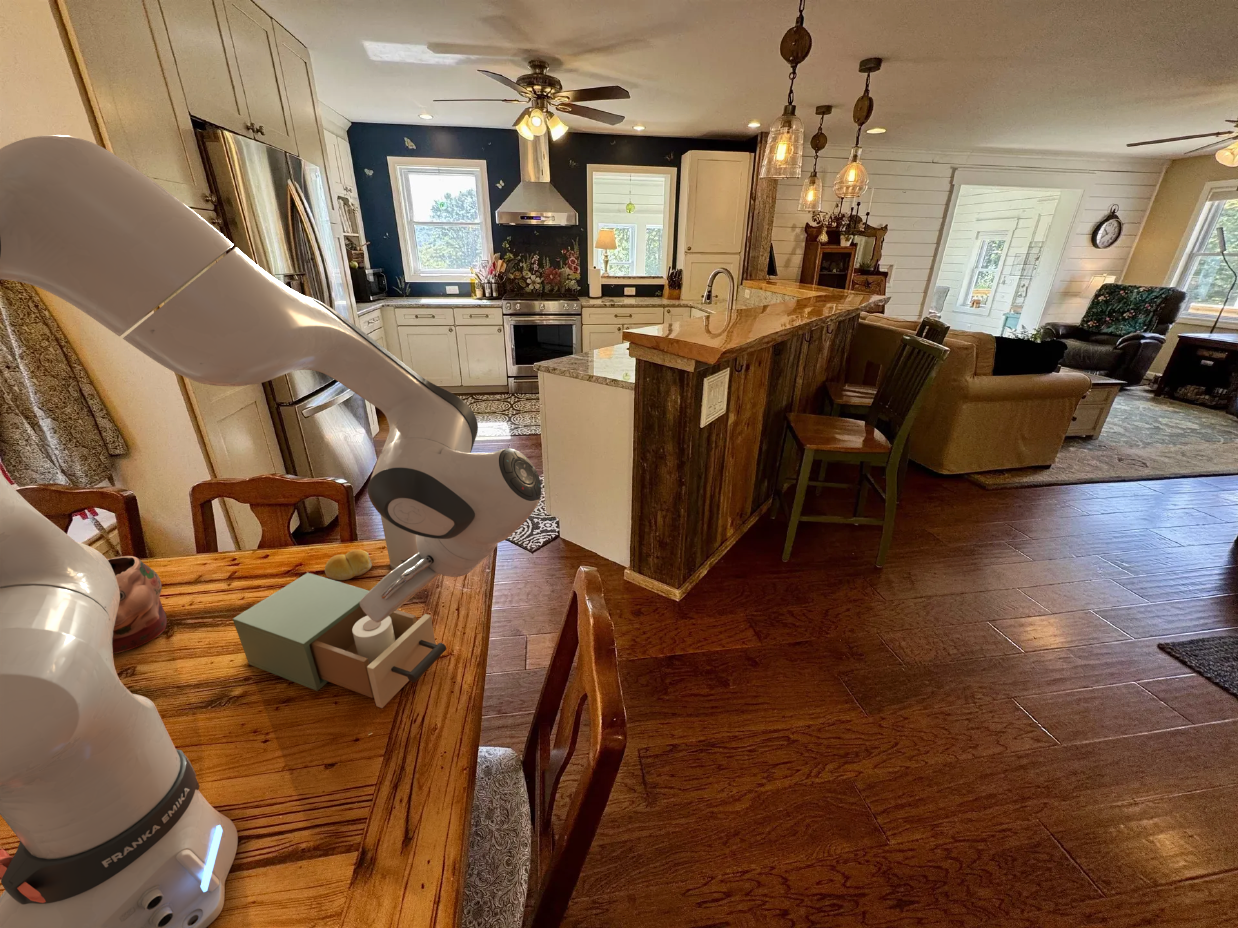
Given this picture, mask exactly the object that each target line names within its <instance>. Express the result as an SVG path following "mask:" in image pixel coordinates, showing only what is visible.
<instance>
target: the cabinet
mask: <svg viewBox="0 0 1238 928" xmlns="http://www.w3.org/2000/svg"><path fill="white" fill-rule="evenodd" d="M369 591H370V590H368V589H365V588H362V587H358V586H356V585H355V586H354V585H351V584H348V583H344V582H342V581H339V580H335V579H331V578H329V577H325V576H321V575H317V574H314V573H311V572H306V573H304V574H303V575H302V576H300V577H298V578H296V579H295V580H294V581H292V582H290V583H288V584H287V585H284V586H283V587H281V589H278V590H277V591H275V592H273V593H272V594H270V595H269V596H267V597H265V598H264V599H262V600H260V601H259V602H257V603H256V604H254V605H253V606H251V607H249V608H248V609H246V610H244V611H243V612H241V613H240V614H238V615H236V616H235V617H233V618H232V622H233V624H234V627H235V630H236V633H237V635H238V638H239V641H240V643H241V647H242V649H243V652H244V654H245V657H246V660H247V664H248V665H250V666H252V667H255V668H257V669H259V670H263V671H265V672H267V673H270V674H272V675H274V676H278V677H280V678H283V679H285V680H287V681H291V682H292V683H295V684H298V685H300V686H303V687H306V688H308V689H310V690H313V691H316V692H318V691H319V690H321V689H322V688H323V687H324V686H325V685H327V684H328V683H330V682H329V681H326V680H323V679H321V678H319V677H318V673H317V670H316V667H315V663H314V660H313V656H312V653H311V650H310V646H309V644H311V643H312V642H313V641H315V640H316V639H317V638H318V637H320V636H321V635H322V634H324V633H325V632H326V631H328V630H329V629H330V628H332V627H333V626H334V625H336V624H337V623H338V622H340V621H341V620H342V619H344V618H345V617H346V616H348V615H349V614H350V613H351V612H353V611H354V610H355V609H357V608H358V607H359V606H360V601H361V599H362V598H363V597H364V596H365V595H366V594H367V593H368V592H369Z"/></svg>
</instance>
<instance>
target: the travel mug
mask: <svg viewBox="0 0 1238 928" xmlns="http://www.w3.org/2000/svg"><path fill="white" fill-rule="evenodd" d="M380 520H381V524H382V530H383V534H384V540H385V545H386V549H387V555H388V558H389V559H388V560H389V565H390V570H391V571H393V570H394V569H395V568H397V567H398V566H400V565H401V564H403V563H404V562H405V561H407V560H408V559H410V558H411V557H413V556H414V555H415V554H417V553H418V549H417V544H416V538H417V535H416V534H413V533H410V532H407V531H405V530H403V529H401V528H399V527H397V526H395V525H393V524H392V523H390V522H389V521H388V520H386V519H385V518H384V517H383V516H381V515H380Z"/></svg>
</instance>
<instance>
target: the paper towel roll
mask: <svg viewBox="0 0 1238 928" xmlns="http://www.w3.org/2000/svg"><path fill="white" fill-rule="evenodd" d="M352 632H353V636H354V640H355V644H356V648H357V652H358V655H359V656H362V657H365V658H368V662H369V664H370V663H372V662H373V661H374V660H375V659H376V658H377V657H378V656H379V655H380V654H382V653H383V652H384V651H385V650H386V649H387V648H388V647H389V646H390V645H391V644H393V643H394V642H395V641H396V640H395V635H394V631H393V626H392V621H391V618H390V616H388V617H387V618H385V619H384V620H382V621H381V622H374V621H373V620H372V619H371V618H369V616H365V617H363V618H361V619H360V620H359V621H357V622H356V623H355V625H354V626H353V629H352Z"/></svg>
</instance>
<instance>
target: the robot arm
mask: <svg viewBox="0 0 1238 928" xmlns="http://www.w3.org/2000/svg"><path fill="white" fill-rule="evenodd" d="M233 246H234V243H232V242H231V241H230V240H229V239H228V238H226V236H224V234H223V233H221V232H220V231H219V230H217V229H216V228H215V227H214V226H213V225H212V224H210V223H209V222H208V221H206V220H205V218H203V217H201V215H199V214H198V213H197V212H195V211H194V210H193V209H192V208H191V207H189V206H188V205H186V204H185V203H184V202H183V201H182V200H180V199H178V198H177V197H176V196H175V195H173V194H172V193H170V192H169V191H168V190H167V189H165V188H164V187H162V186H161V184H158V183H157V182H155V181H154V180H153V179H152V178H150V177H148V176H147V175H145V174H144V173H143V172H141V171H140V170H139V169H138V168H135V167H134V166H133V165H131V164H129V163H128V162H127V161H125V160H123V159H122V158H121V157H119V156H118V155H116V154H115V153H113V152H112V151H110V150H108V149H107V148H105V147H103V146H101V145H99V144H96V143H95V142H92V141H90V140H87V139H85V138H84V139H83V138H80V137H75V136H71V135H61V134H56V135H55V134H54V135H53V134H51V135H37V136H31V137H25V138H22V139H19V140H16V141H13V142H11V143H8V144H7V145H5V146H3V147H1V148H0V281H1V280H4V281H5V280H7V281H13V282H20V283H23V284H27V285H31V286H34V287H36V288H39V289H41V290H43V291H45V292H48V293H50V294H52V295H53V296H56V297H58V298H59V299H62V300H63V301H64V302H67V303H69V304H70V305H72V306H73V307H75V308H77V309H78V310H80V311H81V312H83V313H84V314H85V315H87V316H89V317H90V318H92V319H93V320H94V321H96V322H97V323H99V324H100V325H102V326H104V328H106V329H108V330H109V331H111V332H112V333H113V334H115V335H116V336H118V337H119V338H120V337H121V336H123V335H124V334H125V333H126V332H128V331H129V330H131V329H132V328H133V327H134V328H133V329H132V330H131V331H129V332H128V334H126V335H125V336H123V338H122V339H123V340H124V341H125V342H127V343H128V344H130V345H131V346H132V347H133V348H135V349H136V350H138V351H139V352H140V353H143V354H144V355H145V356H147V357H148V358H150V359H151V360H153V361H154V362H156V363H158V364H159V365H161V366H163V367H164V368H166V369H167V370H170V371H171V372H172V373H173V372H174V373H176V374H177V375H179V376H182V377H184V378H186V379H187V380H191V381H194V382H195V383H198V384H203V385H206V386H207V385H208V386H212V387H213V386H214V387H227V388H228V387H229V388H231V387H233V388H234V387H246V386H253V385H258V384H263V383H265V382H268V381H271V380H273V379H277V378H279V377H281V376H284V375H286V374H290V373H292V372H295V371H314V372H318V373H321V374H324V375H326V376H328V377H330V378H332V379H334V380H335V381H337V382H338V383H339V384H341V385H342V386H344V387H346V388H347V389H348V390H350V391H352V392H353V393H354V394H356V395H357V396H359V397H360V398H362V399H364V401H367V402H368V403H369V404H371V405H372V406H374V407H375V408H376V409H379V410H380V411H381V412H382V413H383V414H384V416H385V418H386V420H387V423H388V429H389V432H388V434H387V437H386V440H385V442H384V445H383V447H382V449H381V451H380V453H379V456H378V458H377V461H376V464H375V466H374V468H373V471H372V474H371V476H370V480H369V482H368V484H367V495H368V498H369V501H370V503H371V505H372V506H373V507H374V510H376V512H377V513H378V514H379V515H380V517H381V516H383V517H384V518H385V519H386V520H388V521H389V522H390V523H392V524H393V525H395V526H397V527H399V528H401V529H403V530H405V531H407V532H410V533H413V534H416V535H417V538H416V544H417V549H418V553H417V554H415V555H414V556H413V557H411V558H410V559H408V560H407V561H405V562H404V563H403V564H401V565H400V566H398V567H397V568H395V569H394V570H391V571H389V573H387V574H386V575H385V576H384V577H383V578H382V579H380V581H378V582H377V583H376V584H375V585H374V586H373V587H372V588H371V589H370V590H369V592H368V593H367V594H366V595H365V596H364V597H363V598H362V599H361V601H360V607H361V608H362V610H363V611H364V612H365V613H366V614H367V615H368V616H369V618H371V619H372V620H373V621H374V622H381V621H382V620H384V619H385V618H387V617H388V616H389V615H390V614H392V613H393V612H394V611H395V610H398V609H399V608H400V607H402V606H403V605H405V604H406V603H407V602H408V601H409V600H410V599H412V598H413V597H415V596H416V595H417V594H419V593H420V592H421V591H422V590H423V589H425V588H426V587H427V586H428V585H430V584H431V583H432V582H433V581H435V580H437V578H438V577H440V576H441V575H442V576H445V577H448V578H458V577H459V578H460V577H463V576H466V575H467V574H469V573H471V572H472V571H473V570H474V569H475V568H477V567H478V566H479V565H480V564H481V563H482V562H483V561H484V560H485V559H486V558H488V557H489V556H490V555H491V554H492V553H493V552H494V551H495V549H496V547H497V545H498V544H499V543H502V542H504V541H506V540H507V539H509V537H511V536H512V535H513V534H514V533H515V532H516V531H517V530H519V528H520V527H522V525H523V524H524V523H525V522H526V521H527V520H528V519H529V518H530V517H531V515H532V514H533V512H534V511H535V510H536V508H537V507H538V506H539V503H540V501H541V499H542V483H541V478H540V474H539V473H538V470H537V469H536V468H535V466H534V463H532V462H531V460H530V459H529V458H528V457H527V456H526V455H524V453H522V452H521V451H519V450H517V449H514V448H510V447H507V448H506V447H505V448H501V449H499V450H497V451H492V452H472V450H473V448H474V445H475V442H476V439H477V436H478V431H479V426H478V425H479V424H478V419H477V417H476V414H475V413H474V411H473V410H472V408H471V407H470V405H469V404H468V403H467V402H465V401H464V400H463V399H462V398H460V397H459V396H458V395H456V394H454V393H452V392H451V391H449V390H447V389H445V388H442V387H441V386H439V385H436V384H435V383H433V382H431V381H429V380H428V379H426V378H424V377H422V376H421V375H420V374H418V373H417V372H416V371H414V370H413V369H412V368H411V367H409V366H408V365H407V364H406V363H404V362H403V361H401V360H400V359H399V358H398V357H396V356H395V355H394V354H392V353H391V352H390V351H389V350H388V349H386V348H385V347H384V346H382V345H381V344H380V343H379V342H377V341H376V340H375V339H373V338H372V337H371V336H370V335H369V334H367V333H366V332H364V331H363V330H362V329H361V328H359V326H357V325H355V324H354V323H353V322H352V321H350V320H349V319H348V318H346V317H345V316H344V315H342V314H340V313H339V312H338V311H336V310H335V309H334V308H332V307H330V306H328V305H327V304H325V303H323V302H321V301H319V300H318V299H315V298H314V297H311V296H307V295H304V294H301V293H299V292H298V291H296V290H294V289H292V288H290V287H289V286H287V285H286V284H284V283H283V282H281V281H280V280H278V279H277V278H275V277H274V276H273V275H271V274H270V273H269V272H267V271H266V270H264V269H263V268H262V267H260V266H259V265H258V264H256V262H254V261H253V260H252V259H251V258H250V257H248V256H247V255H246V254H245V253H244V252H243V251H241V250H240V249H239V248H238V247H234V248H233ZM231 248H233V249H232V250H231ZM229 250H230V251H229ZM228 251H229V252H228ZM226 252H228V253H226ZM225 253H226V254H225ZM223 255H224V256H223ZM221 256H223V257H221ZM220 257H221V258H220ZM219 258H220V259H219ZM218 259H219V260H218ZM216 260H218V261H216ZM215 261H216V262H215ZM214 262H215V263H214ZM213 263H214V264H213ZM209 266H210V267H209ZM208 267H209V268H208ZM207 268H208V269H207ZM206 269H207V270H206ZM204 270H205V271H204ZM203 271H204V272H203ZM202 272H203V273H202ZM199 274H200V275H199ZM198 275H199V276H198ZM194 278H195V279H194ZM192 280H193V281H192ZM191 281H192V282H191ZM189 282H190V283H189ZM187 284H188V285H187ZM184 286H185V287H184ZM182 288H183V289H182ZM181 289H182V290H181ZM178 291H179V292H178ZM177 292H178V293H177ZM173 295H174V296H173ZM167 300H168V301H167ZM165 302H166V303H165ZM163 303H164V304H163ZM159 306H160V307H159ZM157 308H158V309H157ZM156 309H157V310H156ZM153 311H154V312H153ZM152 312H153V313H152ZM149 314H150V315H149ZM147 316H148V317H147ZM143 319H144V320H143ZM142 320H143V321H142ZM139 322H140V324H138V323H139ZM137 324H138V325H137ZM135 325H137V326H136V327H135ZM107 559H108V558H106V556H105V555H104V554H102V553H101V552H100V551H99V550H98V549H95V548H94V547H91V546H89V545H88V544H85V543H82V542H80V541H79V542H78V541H76V540H75V539H74V538H73V537H71V536H70V535H69V534H67V533H66V532H65V531H64V530H62V529H61V528H60V527H59V526H57V525H56V524H55V523H54V522H53V521H51V520H50V519H48V518H47V517H46V516H45V515H43V514H42V513H41V512H40V511H38V510H37V509H36V508H35V507H34V506H33V505H31V504H30V503H29V501H27V500H26V499H25V498H24V497H23V496H22V495H21V494H20V492H18V491H17V490H16V489H15V488H14V487H13V485H12V484H11V483H10V482H9V481H8V479H6V477H5V476H4V474H2V472H1V471H0V817H2V819H3V820H4V821H5V823H6V825H8V827H9V828H10V829H11V830H12V832H13V833H14V834H15V836H16V837H17V839H18V840H19V844H18V846H17V849H16V851H15V853H14V855H13V856H12V855H10V854H9V853H8V851H6V850H5V849H0V883H1V886H2V887H3V888H4V891H3V892H2V893H1V895H0V928H207V927H209V926H210V925H211V924H212V923H213V922H214V921H215V920H217V918H218V917H219V915H220V914H221V913H222V911H223V908H224V905H225V895H226V887H225V884H226V881H227V877H228V875H229V873H230V870H231V868H232V865H233V863H234V860H235V858H236V854H237V850H238V843H239V834H238V830H237V828H236V826H235V824H234V822H233V821H232V819H230V818H229V817H228V816H226V815H224V814H222V813H221V812H219V811H218V810H217V809H215V808H214V807H213V805H211V804H210V803H209V801H208V800H207V799H206V798H205V797H204V795H203V794H202V792H200V786H201V785H200V783H199V781H198V779H197V773H196V771H195V768H194V767H193V765H192V763H191V761H190V759H189V758H188V756H186V755H185V753H184V752H183V750H182V749H177V748H176V746H175V744H174V743H173V740H172V739H171V736H170V734H169V732H168V730H167V728H166V725H165V723H164V721H163V719H162V717H161V714H160V713H159V711H158V709H157V707H156V705H155V703H154V701H152V700H151V699H150V698H148V697H146V696H143V695H140V694H136V693H132V692H131V691H130V690H129V689H128V688H127V687H126V686H125V684H123V682H122V681H121V680H120V677H119V675H118V673H117V670H116V666H115V661H114V653H113V648H112V639H113V630H114V625H115V620H116V616H117V611H118V607H119V601H120V591H119V586H118V583H117V579H116V576H115V573H114V571H113V569H112V567H111V565H110V563H109V561H108V560H107ZM193 922H194V923H193ZM192 923H193V924H192Z"/></svg>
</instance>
